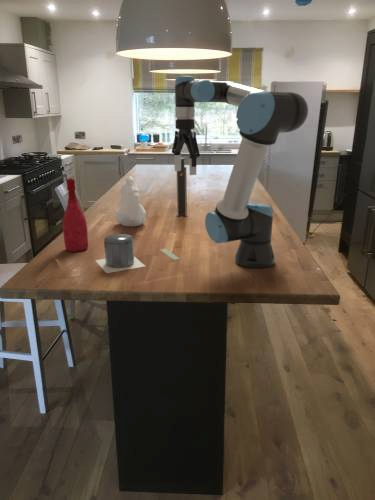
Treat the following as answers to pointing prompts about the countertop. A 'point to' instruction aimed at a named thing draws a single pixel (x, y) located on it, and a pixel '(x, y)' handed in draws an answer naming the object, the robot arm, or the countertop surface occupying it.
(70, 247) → the wine bottle
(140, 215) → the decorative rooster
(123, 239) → the grey ribbed cylinder
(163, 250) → the mat
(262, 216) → the robot arm
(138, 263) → the board
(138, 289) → the countertop surface
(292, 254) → the countertop surface
